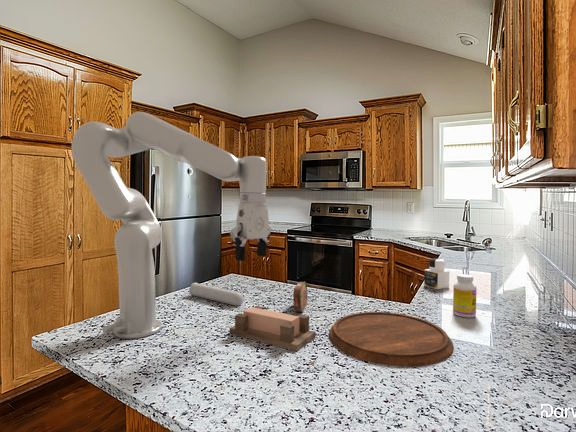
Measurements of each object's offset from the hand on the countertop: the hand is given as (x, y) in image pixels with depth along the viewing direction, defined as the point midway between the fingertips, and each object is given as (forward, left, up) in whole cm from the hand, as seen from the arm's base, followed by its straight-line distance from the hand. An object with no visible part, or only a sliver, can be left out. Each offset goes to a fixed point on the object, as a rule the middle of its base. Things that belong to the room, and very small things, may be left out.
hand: (251, 258), depth 100 cm
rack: (-2, -9, -21) cm, 22 cm away
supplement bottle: (+44, -53, -21) cm, 72 cm away
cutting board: (+13, -37, -21) cm, 44 cm away
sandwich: (+23, -4, -21) cm, 31 cm away
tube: (+15, +28, -21) cm, 38 cm away
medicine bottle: (+78, -39, -21) cm, 89 cm away
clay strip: (-2, -8, -19) cm, 21 cm away
